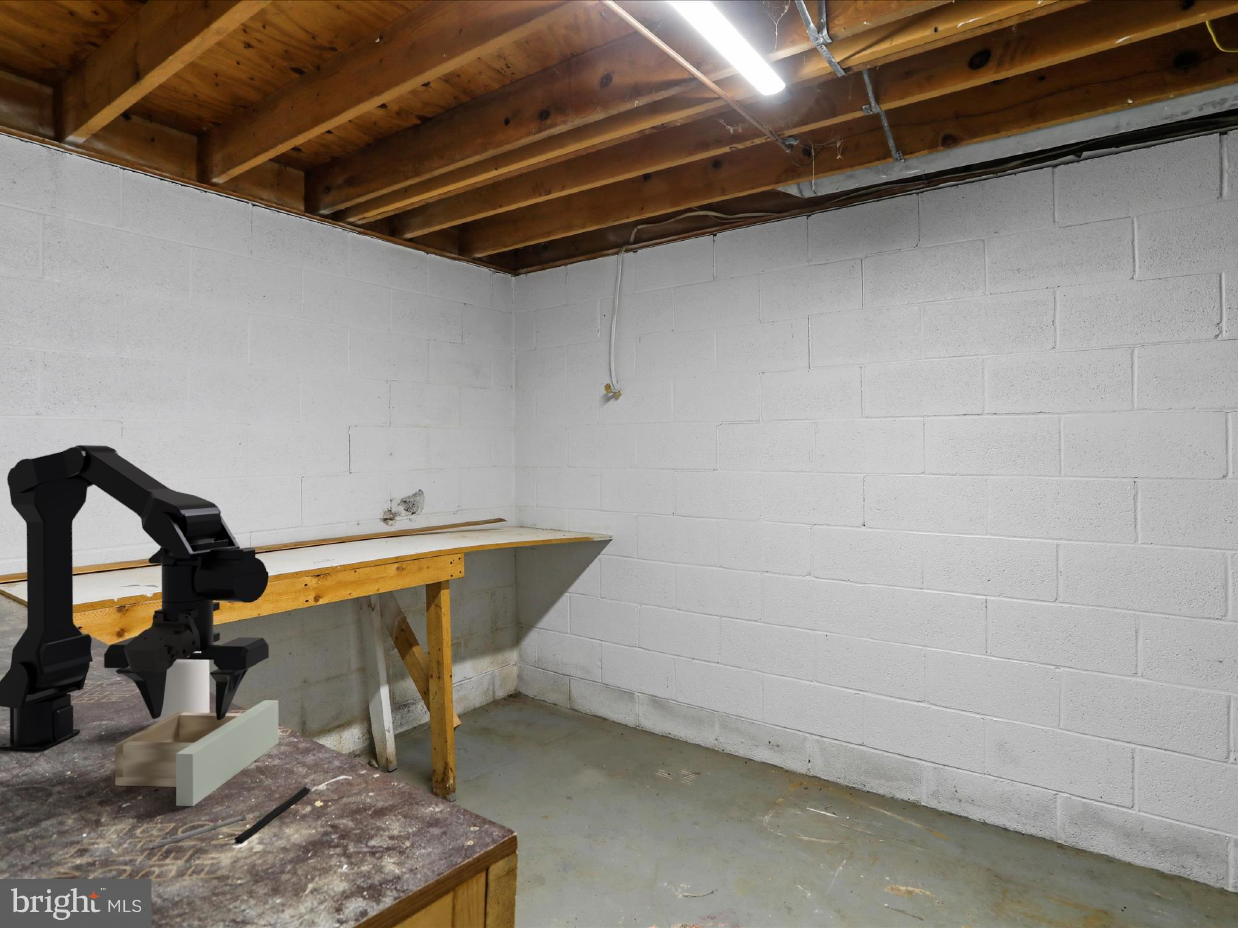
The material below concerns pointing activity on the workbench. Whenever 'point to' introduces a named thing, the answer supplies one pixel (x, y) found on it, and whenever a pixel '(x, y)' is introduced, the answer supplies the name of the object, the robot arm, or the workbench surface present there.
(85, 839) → the workbench surface
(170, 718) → the wooden drawer box
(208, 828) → the grey thin rod
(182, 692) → the can
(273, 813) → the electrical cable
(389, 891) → the workbench surface
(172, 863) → the workbench surface
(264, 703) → the panel
